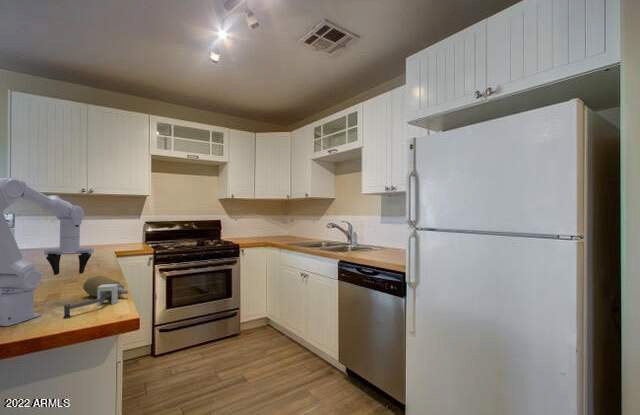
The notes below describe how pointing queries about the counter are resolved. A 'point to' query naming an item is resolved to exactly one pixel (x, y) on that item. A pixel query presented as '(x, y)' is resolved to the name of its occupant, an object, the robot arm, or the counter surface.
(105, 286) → the grey u-shaped block
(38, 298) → the counter surface
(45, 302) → the counter surface
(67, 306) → the grey lever handle
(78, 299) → the counter surface
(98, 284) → the squeeze bottle
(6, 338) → the counter surface
